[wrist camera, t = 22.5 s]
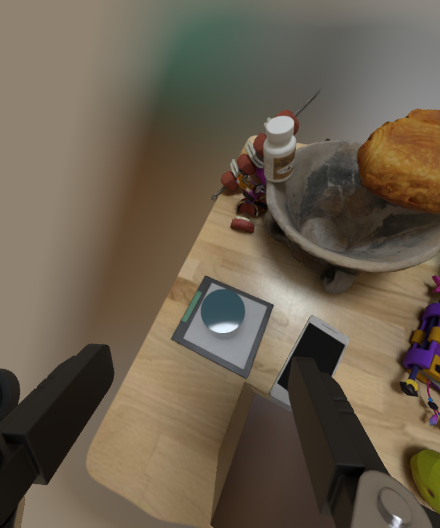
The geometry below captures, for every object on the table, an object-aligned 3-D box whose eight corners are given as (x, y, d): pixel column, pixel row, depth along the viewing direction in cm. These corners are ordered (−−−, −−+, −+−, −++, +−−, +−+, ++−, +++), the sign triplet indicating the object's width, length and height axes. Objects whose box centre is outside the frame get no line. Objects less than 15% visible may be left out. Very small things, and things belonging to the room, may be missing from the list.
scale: (173, 340, 37) (169, 338, 35) (206, 279, 42) (204, 274, 40) (245, 378, 34) (247, 379, 31) (271, 307, 39) (274, 303, 36)
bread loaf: (364, 147, 23) (329, 193, 31) (515, 212, 20) (435, 245, 28) (404, 77, 27) (364, 133, 35) (536, 124, 24) (461, 174, 32)
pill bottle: (278, 187, 32) (280, 140, 25) (258, 175, 34) (255, 128, 27) (298, 170, 32) (306, 120, 25) (278, 159, 34) (279, 109, 27)
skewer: (217, 197, 56) (320, 93, 39) (221, 209, 54) (332, 105, 37) (202, 189, 53) (309, 71, 36) (206, 202, 50) (322, 83, 34)
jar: (200, 330, 35) (192, 321, 28) (215, 298, 37) (212, 282, 30) (233, 346, 34) (234, 341, 26) (247, 312, 36) (251, 299, 29)
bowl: (325, 181, 52) (358, 118, 39) (414, 262, 42) (503, 213, 28) (234, 224, 47) (236, 169, 34) (308, 328, 37) (353, 307, 23)
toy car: (256, 183, 38) (242, 204, 40) (282, 199, 47) (269, 215, 49) (238, 168, 40) (225, 189, 42) (266, 186, 50) (254, 202, 52)
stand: (218, 452, 30) (209, 525, 16) (244, 381, 34) (255, 392, 20) (285, 495, 28) (339, 619, 14) (305, 413, 31) (362, 450, 18)
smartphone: (268, 393, 33) (269, 393, 32) (310, 315, 38) (311, 313, 38) (309, 426, 31) (311, 427, 30) (347, 338, 36) (350, 338, 35)
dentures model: (228, 219, 43) (239, 192, 46) (228, 231, 47) (237, 205, 50) (254, 226, 42) (263, 198, 46) (251, 237, 46) (260, 211, 49)
